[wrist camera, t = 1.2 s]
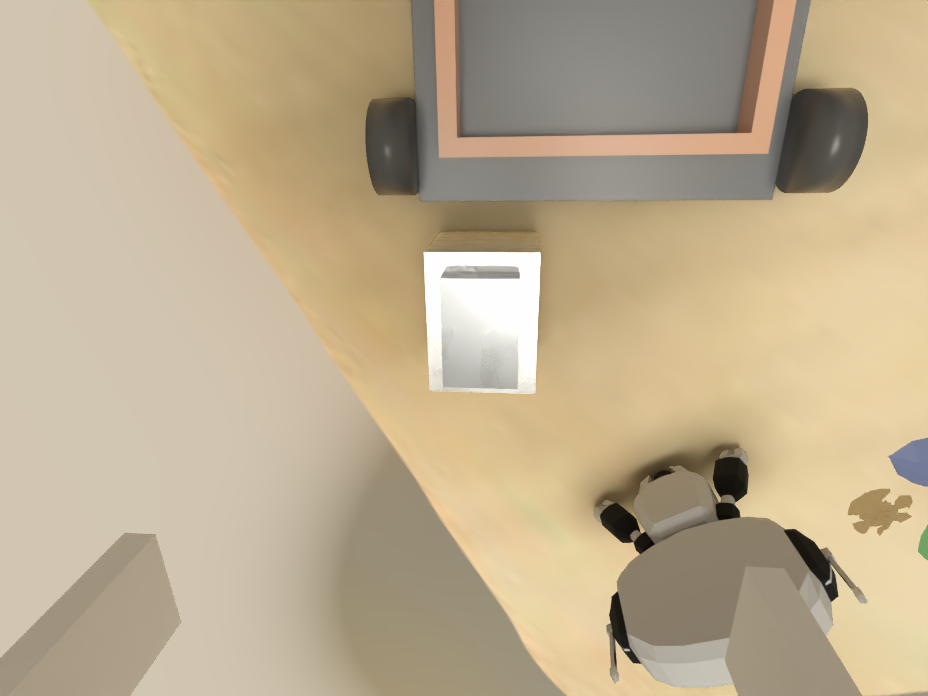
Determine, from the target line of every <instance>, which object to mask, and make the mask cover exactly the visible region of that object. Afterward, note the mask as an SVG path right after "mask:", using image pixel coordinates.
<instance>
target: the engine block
mask: <svg viewBox="0 0 928 696" xmlns="http://www.w3.org/2000/svg"><path fill="white" fill-rule="evenodd" d="M424 270H425V294H426V317H427V341H428V364H429V388H430V391H447V392H480V393H514V394H535V381H536V355H537V329H538V303H539V278H540V248H539V242H538V237H537V232H440V233H439V234H438V235H437V237H436V238H435V239H434V240H433V241H432V243H431V244H430V245H429V246H428V248H427V249H426V250H425V251H424Z"/></svg>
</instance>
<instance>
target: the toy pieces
mask: <svg viewBox="0 0 928 696" xmlns="http://www.w3.org/2000/svg"><path fill="white" fill-rule="evenodd" d="M888 457H889V458H890V459H891V462H892V464H893V466H894V468H895V470H896V472H897V474H898V475H900V476H902V477H904V478H906V479H907V480H909V481H911V482H912V483H915V484H919V485H922V486H928V438H925V439H920V440H916V441H912V442H910V443H909V444H907V445H906V446H904V447H903V448H901V449H900V450H898V451H897V452H895V453H894V454H892V455H890V456H888ZM888 493H890V489H877V490H873V491H870V492H868V493H864V494H863V495H862V496H860V497H859V498H857V499H855V500H854V501H852V502H851V504H850V507H849V510H848V515H859V514H860V516H859V517H860V519H863V520H864V521H860V522H857V523H852V524H853V526H854V529H855V530H857V531H858V532H860V533H862V534H863V533H866V532H867V530H868V529H869V527H870V526H871V527H872V526H881V525H883V526H881V527H880V528H878V529H877V533H878V534H879V536H880V535H881V534H882V532H883V530H886V529H888V527H889V526H890V524H891V523H892V521H899V522H900V523H901V522H903V521H905V520H907V519H908V518H910V517H912V516H910V515H909V514H907V513H897V512H898V509H901V508H905V507H910V505H911V504H912V498H911V496H899V497H898V499H897V500H896V501H895V505H890V504H891V503H887V501H886V500H885V501H884V502H882V499H883V498H884V497H885V496H886V495H887V494H888ZM908 509H909V508H908ZM896 514H897V515H896ZM918 552H919V553H920V554H921V555H922V556H923V557H924V558H925V559H927V560H928V525H927V527H926V529H925V531H924V532H923V534H922V536H921V539H920V543H919V547H918Z"/></svg>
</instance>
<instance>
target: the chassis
mask: <svg viewBox="0 0 928 696" xmlns="http://www.w3.org/2000/svg"><path fill="white" fill-rule="evenodd" d="M810 1H811V0H411V7H412V30H413V52H414V75H415V98H416V106H415V103H414V101H413V99H412V98H397V99H372V100H371V102H370V104H369V107H368V111H367V117H366V154H367V162H368V168H369V173H370V178H371V181H372V184H373V187H374V189H375V191H376V193H377V194H378V195H416V194H417V192H418V190H419V189H420V201H590V200H772V198H773V193H774V188H775V184H776V186H777V188H778V189H779V190H780V191H782V192H784V193H829V192H833V191H835V190H837V189H838V188H840V187H841V186H842V185H843V184H844V183H845V182H846V181H847V180H848V178H849V177H850V176H851V174H852V173H853V171H854V169H855V167H856V166H857V164H858V161H859V159H860V157H861V154H862V151H863V148H864V144H865V140H866V135H867V128H868V112H867V106H866V102H865V100H864V97H863V96H862V94H861V93H860V92H859V91H858V90H856V89H854V88H830V89H804V90H801V91H800V92H798V93H797V94H796V95H795V96H794V97H793V98H792V94H793V89H794V84H795V79H796V74H797V68H798V63H799V58H800V53H801V48H802V42H803V37H804V32H805V27H806V22H807V16H808V11H809V6H810Z"/></svg>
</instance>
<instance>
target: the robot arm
mask: <svg viewBox="0 0 928 696" xmlns="http://www.w3.org/2000/svg"><path fill="white" fill-rule="evenodd" d="M180 623H181V620H180V616H179V613H178V610H177V607H176V603H175V599H174V596H173V593H172V589H171V586H170V582H169V579H168V576H167V572H166V569H165V565H164V562H163V558H162V555H161V552H160V548H159V545H158V542H157V538H156V535H155V534H137V533H124V534H123V535H122V536H121V537H120V538H119V539H118V540H117V541H116V542H115V543H114V544H113V545H112V546H111V547H110V548H109V549H108V550H107V551H106V552H105V553H104V554H103V555H102V556H101V557H100V558H99V559H98V560H97V561H96V562H95V563H94V564H93V565H92V567H90V569H88V570H87V571H86V572H85V573H84V574H83V575H82V576H81V577H80V578H79V579H78V580H77V581H76V583H74V584H73V585H72V587H71V588H70V589H69V590H68V591H67V592H66V593H65V594H64V595H63V596H62V597H61V598H60V599H59V600H58V601H57V602H56V603H55V604H54V605H53V606H52V607H51V608H50V609H49V610H48V611H47V612H46V613H45V614H44V615H43V616H42V617H41V618H40V619H39V620H38V621H37V622H36V623H35V624H34V625H33V626H32V627H31V628H30V629H29V630H28V631H27V632H26V633H25V634H24V635H23V636H22V637H21V638H20V639H19V640H18V641H17V642H16V643H15V644H14V645H13V646H12V647H11V648H10V649H9V650H8V651H7V652H6V653H5V654H4V655H3V656H2V657H1V658H0V696H130V695H131V693H132V692H133V691H134V689H135V688H136V686H137V685H138V683H139V682H140V680H141V679H142V678H143V676H144V675H145V673H146V672H147V670H148V669H149V667H150V666H151V664H152V663H153V662H154V660H155V659H156V657H157V656H158V655H159V653H160V652H161V650H162V649H163V647H164V646H165V645H166V643H167V642H168V640H169V639H170V637H171V636H172V635H173V633H174V632H175V630H176V628H177V627H178V626H179V624H180ZM725 663H726V665H727V668H728V670H729V673H730V676H731V678H732V681H733V683H734V686H735V688H736V691H737V693H738V696H862V694H861V693H860V691H859V690H858V688H857V686H856V685H855V683H854V681H853V680H852V678H851V676H850V675H849V673H848V672H847V670H846V668H845V667H844V665H843V663H842V662H841V660H840V658H839V657H838V655H837V654H836V652H835V650H834V649H833V647H832V645H831V644H830V642H829V640H828V639H827V637H826V636H825V634H824V632H823V631H822V629H821V627H820V626H819V624H818V623H817V621H816V619H815V618H814V616H813V614H812V613H811V611H810V609H809V608H808V606H807V605H806V603H805V601H804V600H803V598H802V596H801V595H800V593H799V591H798V590H797V588H796V587H795V585H794V583H793V582H792V580H791V578H790V577H789V575H788V573H787V572H786V570H785V569H784V568H767V567H749V566H746V567H745V572H744V576H743V581H742V585H741V590H740V594H739V599H738V603H737V608H736V612H735V616H734V621H733V625H732V630H731V634H730V639H729V643H728V648H727V652H726V657H725Z"/></svg>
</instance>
